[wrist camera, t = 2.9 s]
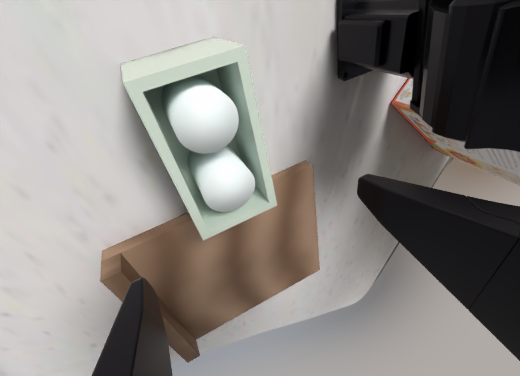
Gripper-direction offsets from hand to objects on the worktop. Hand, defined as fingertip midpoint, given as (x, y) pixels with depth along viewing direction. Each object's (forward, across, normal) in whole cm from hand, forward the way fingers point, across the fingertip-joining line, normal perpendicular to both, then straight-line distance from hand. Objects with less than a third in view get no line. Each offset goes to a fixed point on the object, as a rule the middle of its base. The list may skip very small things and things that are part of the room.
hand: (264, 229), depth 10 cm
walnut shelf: (+12, 0, +17) cm, 21 cm away
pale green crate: (+12, 0, +1) cm, 12 cm away
